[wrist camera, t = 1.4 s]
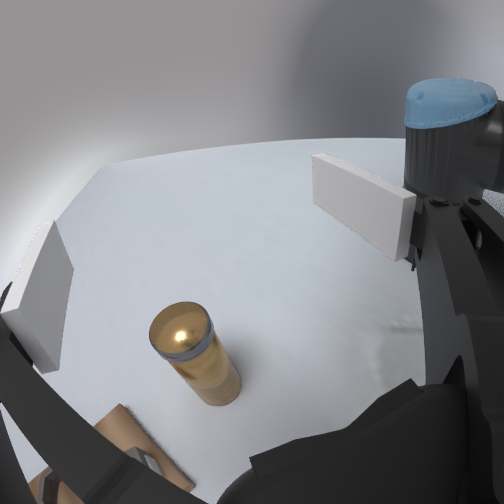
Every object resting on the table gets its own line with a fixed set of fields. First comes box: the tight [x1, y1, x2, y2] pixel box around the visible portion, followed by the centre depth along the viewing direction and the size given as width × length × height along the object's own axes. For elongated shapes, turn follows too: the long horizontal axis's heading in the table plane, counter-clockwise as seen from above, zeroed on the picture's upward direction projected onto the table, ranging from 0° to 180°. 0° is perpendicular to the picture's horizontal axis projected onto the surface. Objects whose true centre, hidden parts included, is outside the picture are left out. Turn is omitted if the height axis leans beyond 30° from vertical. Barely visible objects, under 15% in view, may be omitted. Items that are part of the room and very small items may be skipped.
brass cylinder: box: [149, 302, 241, 406], centre depth 29 cm, size 5×5×12 cm
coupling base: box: [28, 403, 195, 504], centre depth 21 cm, size 24×13×5 cm, turn 138°
